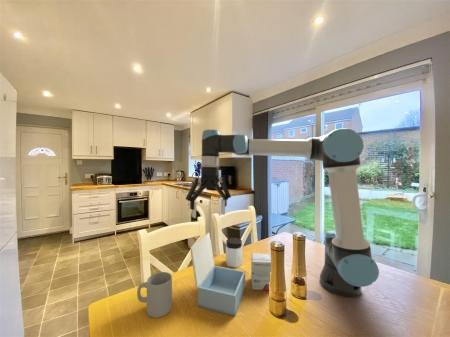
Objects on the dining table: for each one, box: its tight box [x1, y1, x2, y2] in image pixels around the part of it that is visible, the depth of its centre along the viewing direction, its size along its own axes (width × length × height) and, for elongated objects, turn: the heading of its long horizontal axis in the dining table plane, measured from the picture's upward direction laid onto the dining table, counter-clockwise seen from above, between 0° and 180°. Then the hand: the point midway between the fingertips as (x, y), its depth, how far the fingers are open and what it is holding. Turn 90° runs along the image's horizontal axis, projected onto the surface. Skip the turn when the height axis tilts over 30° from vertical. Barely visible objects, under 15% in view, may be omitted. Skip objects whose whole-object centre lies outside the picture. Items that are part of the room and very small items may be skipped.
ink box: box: [250, 252, 272, 291], centre depth 83 cm, size 9×9×12 cm
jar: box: [225, 237, 243, 268], centre depth 101 cm, size 9×8×12 cm
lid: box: [189, 232, 215, 288], centre depth 78 cm, size 14×16×1 cm
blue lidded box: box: [197, 265, 246, 317], centre depth 75 cm, size 14×16×7 cm
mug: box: [136, 271, 173, 319], centre depth 68 cm, size 12×8×11 cm
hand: (208, 215), depth 84 cm, fingers open, 13 cm apart
